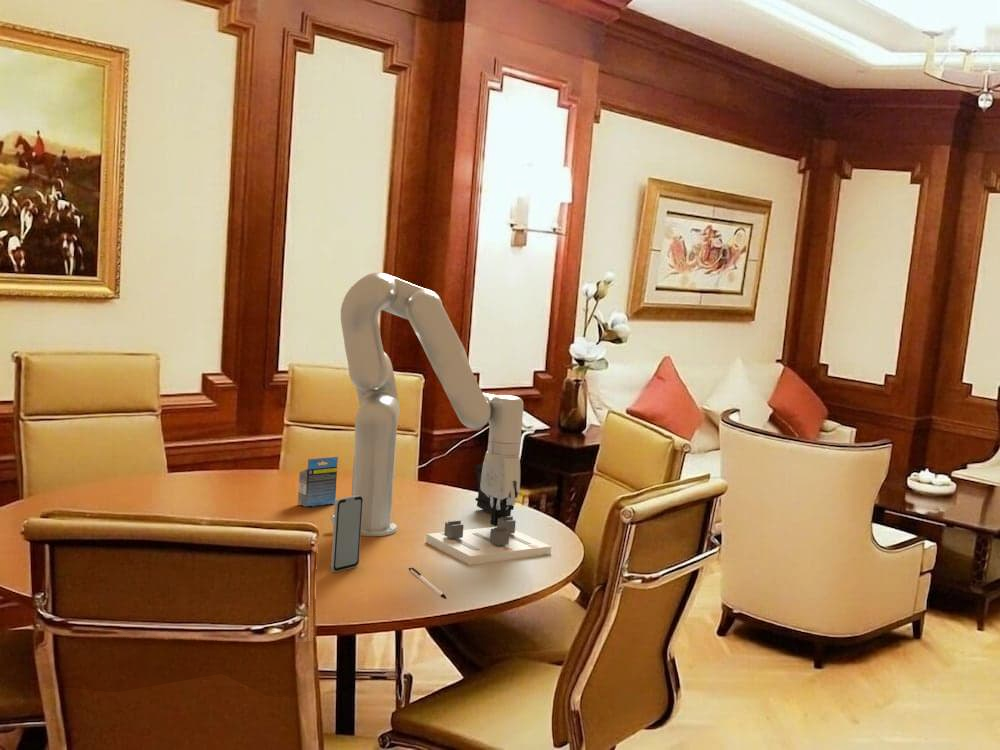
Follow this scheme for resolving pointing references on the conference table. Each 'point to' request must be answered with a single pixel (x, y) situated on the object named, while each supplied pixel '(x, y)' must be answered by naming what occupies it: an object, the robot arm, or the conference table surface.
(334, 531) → the smartphone
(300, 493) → the label tape cartridge
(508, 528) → the tab right
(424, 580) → the pen
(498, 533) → the tab middle
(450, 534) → the tab left
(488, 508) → the black upright block
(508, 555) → the switch panel
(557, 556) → the conference table surface
